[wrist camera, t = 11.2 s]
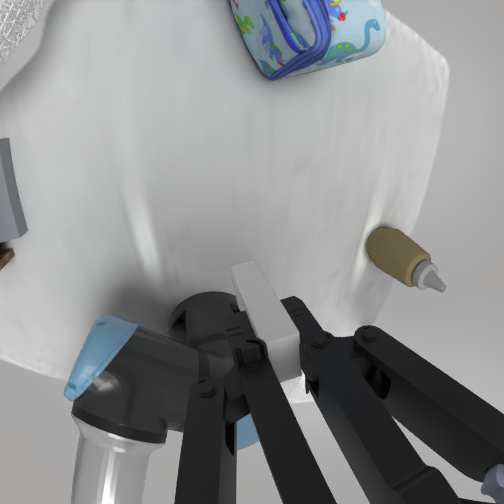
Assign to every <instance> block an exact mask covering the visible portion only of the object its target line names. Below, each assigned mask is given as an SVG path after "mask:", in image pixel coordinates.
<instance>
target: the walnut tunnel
mask: <svg viewBox="0 0 504 504" xmlns="http://www.w3.org/2000/svg"><path fill="white" fill-rule="evenodd" d="M14 255H15V254H14V252H13V249H12V248H11V249H8V250H4V251H0V270H1V269H2V268H3V267H4V266H5V265H6V264H7V263H8V262H9V261H10V260H11V259H12V257H13V256H14Z"/></svg>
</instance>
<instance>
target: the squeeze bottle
mask: <svg viewBox="0 0 504 504" xmlns="http://www.w3.org/2000/svg"><path fill="white" fill-rule="evenodd" d="M367 251H368V253H369V255H370V257H371V258H372V260H373V262H374V264H375V266H376V267H377V268H379V269H381V270H382V271H384V272H385V273H387V274H389V275H390V276H392V277H394V278H395V279H397V280H398V281H400V282H402V283H403V284H405V285H406V286H408V287H414V286H416V287H418V288H419V289H420V290H425V289H427V288H428V287H430V288H433V289H435V290H437V291H440V292H443V291H444V290H445V288H446V286H445V285H444V283H443V282H442V281H441V280H440V278H439V277H438V276H437V270H438V269H437V266H436V265H435V264H433V263H432V262H431V258H430V255H429V254H428V253H427V252H426V251H425V250H424V249H422V248H421V247H420V246H419V245H418V244H416V243H415V242H414V241H413V240H412V239H410V238H409V237H408V236H407V235H405V234H404V233H403V232H401V231H400V230H398V229H392V228H379V229H376V230H375V231H374V232H373V233H372V234H371V235H370V237H369V239H368V242H367Z"/></svg>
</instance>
